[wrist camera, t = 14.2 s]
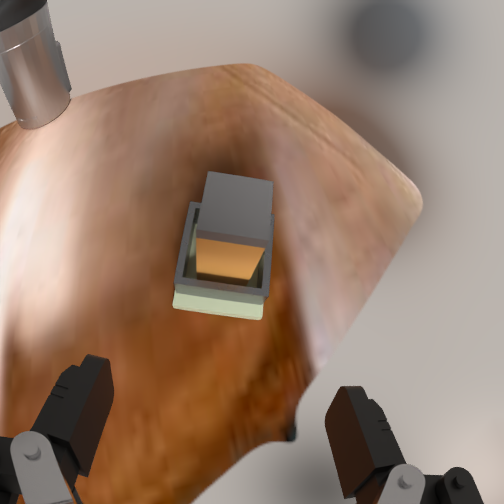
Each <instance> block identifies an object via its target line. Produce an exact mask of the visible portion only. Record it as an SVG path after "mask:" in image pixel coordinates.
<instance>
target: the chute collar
mask: <svg viewBox="0 0 504 504" xmlns="http://www.w3.org/2000/svg"><path fill="white" fill-rule="evenodd" d="M200 208H201V203H198V202H191V201H190V205H189V209H188V214H187V218H186V223H185V228H184V232H183V237H182V242H181V247H180V252H179V257H178V262H177V268H176V273H175V278H174V286H175V290H176V293H179V294H186V295H192V296H199V297H206V298H212V299H219V300H227V301H234V302H241V303H249V304H257V305H262V304H263V303H264V302H265V300H266V299H267V298H268V297H269V284H270V271H271V257H272V243H273V229H274V214H271V224H270V237H269V242H268V244H267V246H266V248H265V250H264V252H263V254H262V256H261V258H260V260H259V266H258V277H257V288H253V287H246V286H238V285H231V284H224V283H217V282H210V281H204V280H197V279H190V278H186V272H187V267H188V261H189V256H190V250H191V245H192V239H193V234H194V229H195V224H197V223H198V217H199V212H200Z"/></svg>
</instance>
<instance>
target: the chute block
mask: <svg viewBox="0 0 504 504" xmlns="http://www.w3.org/2000/svg"><path fill="white" fill-rule="evenodd" d="M272 196H273V182H272V181H267V180H261V179H255V178H249V177H243V176H237V175H231V174H225V173H218V172H211V171H208V174H207V179H206V184H205V188H204V193H203V198H202V203H201V208H200V212H199V217H198V223H197V228H196V265H197V280H204V281H210V282H217V283H224V284H231V285H238V286H247V284H248V282H249V280H250V278H251V276H252V274H253V272H254V270H255V268H256V266H257V264H258V262H259V260H260V258H261V256H262V254H263V252H264V250H265V248H266V246H267V244H268V242H269V237H270V224H271V210H272Z"/></svg>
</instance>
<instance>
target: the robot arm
mask: <svg viewBox="0 0 504 504" xmlns="http://www.w3.org/2000/svg"><path fill="white" fill-rule="evenodd" d="M0 84H1V86H2V89H3V91H4V93H5V95H6V98H7V100H8V102H9V104H10V107H11V109H12V111H13V113H14V115H15V117H16V119H17V121H18V123H19V125H20V126H21V127H22V128H24V129H35V128H38V127H41V126H43V125H46V124H47V123H49V122H51V121H52V120H54V119H55V118H57V117H58V116H59V115H60V114H61V113H62V112H63V111H64V110H65V108H66V107H67V105H68V104H69V101H70V94H69V92H70V91H71V85H70V82H69V78H68V74H67V71H66V67H65V63H64V59H63V55H62V51H61V46H60V43H59V42H58V41H55V38H54V33H53V29H52V24H51V20H50V15H49V10H48V4H47V0H0ZM113 398H114V386H113V380H112V374H111V367H110V361H109V359H107V358H102V357H98V356H94V355H90V354H87V355H86V357H85V358H84V360H83V362H82V364H81V365H80V367H79V366H75V365H71V366H70V367H69V368H68V369H66V370H65V371H64V372H62V373H61V375H60V377H59V379H58V380H57V382H56V385H55V386H54V387H53V389H52V391H51V394H50V395H49V396H48V398H47V400H46V402H45V404H44V406H43V408H42V410H41V411H40V413H39V415H38V417H37V419H36V421H35V423H34V425H33V427H32V428H31V430H30V431H26V432H22V433H20V434H18V435H17V436H16V437H15V438H7V437H1V436H0V504H16V503H17V500H18V496H19V494H22V495H23V497H24V500H25V503H26V504H84V502H83V500H82V498H81V496H80V494H79V491H78V489H77V487H76V485H75V482H76V479H77V476H78V474H79V475H82V476H85V477H88V475H89V472H90V469H91V465H92V462H93V459H94V456H95V453H96V450H97V447H98V444H99V441H100V438H101V435H102V432H103V429H104V426H105V423H106V420H107V417H108V414H109V412H110V409H111V406H112V403H113ZM325 428H326V432H327V435H328V439H329V443H330V447H331V450H332V454H333V458H334V462H335V465H336V469H337V472H338V477H339V480H340V484H341V488H342V492H343V496H344V499H347V498H353V497H356V501H357V503H356V504H484V503H483V501H482V499H481V496H480V493H479V491H478V489H477V486H476V484H475V482H474V480H473V477H472V476H471V474H470V473H469V472H468V471H467V470H465V469H464V468H461V467H454V468H451V469H450V470H449V471H448V472H446V473H445V474H444V475H424V474H423V473H422V472H421V471H420V470H419V469H418V468H417V467H415V466H413V465H409V464H407V463H406V462H405V460H404V457H403V455H402V453H401V450H400V448H399V446H398V443H397V441H396V439H395V437H394V434H393V432H392V431H391V427H390V425H389V423H388V422H387V419H386V416H385V414H384V412H383V410H382V408H381V407H380V406H379V405H378V404H377V403H376V402H375V401H374V400H373V399H368V397H367V395H366V393H365V390H364V389H363V388H362V387H361V386H342V387H340V388H339V390H338V391H337V393H336V395H335V397H334V399H333V401H332V403H331V405H330V407H329V409H328V411H327V413H326V416H325Z"/></svg>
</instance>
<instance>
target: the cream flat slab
mask: <svg viewBox="0 0 504 504" xmlns="http://www.w3.org/2000/svg"><path fill="white" fill-rule="evenodd" d="M196 228H197V224H195V229H194V234H193V239H192V245H191V250H190V256H189V261H188V267H187V272H186V278H190V279H197V265H196ZM258 266H259V262H258V264H257V266H256V268H255V270H254V272H253V274H252V276H251V278H250V280H249V282H248V284H247V286H246V287H253V288H257V277H258ZM173 308H176V309H183V310H189V311H196V312H202V313H209V314H216V315H223V316H231V317H239V318H247V319H255V320H260V319H261V318H262V313H263V304H262V305H257V304H249V303H241V302H234V301H227V300H219V299H212V298H206V297H199V296H192V295H186V294H179V293H176V290H175V294H174V299H173Z"/></svg>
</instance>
